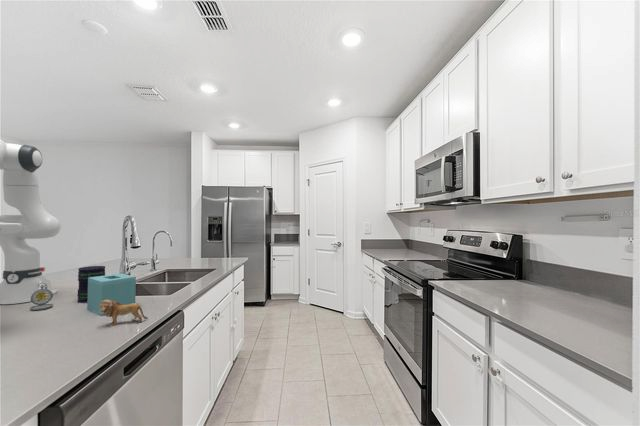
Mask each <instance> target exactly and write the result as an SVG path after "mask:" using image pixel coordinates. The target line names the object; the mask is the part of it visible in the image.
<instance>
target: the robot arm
mask: <svg viewBox="0 0 640 426" xmlns="http://www.w3.org/2000/svg"><path fill="white" fill-rule="evenodd" d="M42 163H43V155H42V153H41V151H40V150H39V149H38V148H37V147H35V146H32V145H28V144H17V143H12V142H11V143H9V142H5V141H3V140H2V139H1V138H0V170H1V171H3V172H2V190H3V201H4V202H5V203H6V204H7V205H8V206H9V207H12V208H15V209H16V210H18V211H19V212H20V214H3V215H0V248H1V250H2V252H3V254H4V256H3V257H4V270H3V271H2V279H3V281H1V282H0V305H14V304H23V303H29V302H32V301H31V295H32V294H33V293H34V292H35V291H37V290H39V289H41V287H39V286H41V285H43V286H44V287H43V289H48V290H50V291H51V292H52V294H53V295H55V294H56V293H58V290H57V289H52V282H51V281H50V280H49V279H47V278H46V277H45V276H44V275H43V272H45V271H46V268H45V267H40V262H41V260H40V259H41V253H40V251H39V250H38V249H37V248H36V247H34V246H30V245H29V244H28V243H27V242H26V240H31V239H32V240H33V239H34V240H37V239H39V240H41V239H48V238H53V237H56V236H57V235H58V234H59V233H60V231H61V228H62V225H61V222H60V220H59V219H58V218H57V217H55V216H53V215H52V214H51V213H49V212H48V211H47V210H46V209H45V208H44V206H43V204H42V202H41V197H40V189H39V180H38V174H37V171H36V170H38V169H40V167H41V166H42ZM40 283H42V284H40ZM44 283H46V284H47V285H46V284H44ZM39 284H40V285H39ZM38 285H39V286H38ZM45 285H46V286H45ZM45 295H47V294H45ZM47 297H48V295H47ZM47 297H45V298H47ZM36 299H37V298H36ZM39 299H40V298H39ZM39 301H42V300H41V299H40V300H39Z"/></svg>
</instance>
